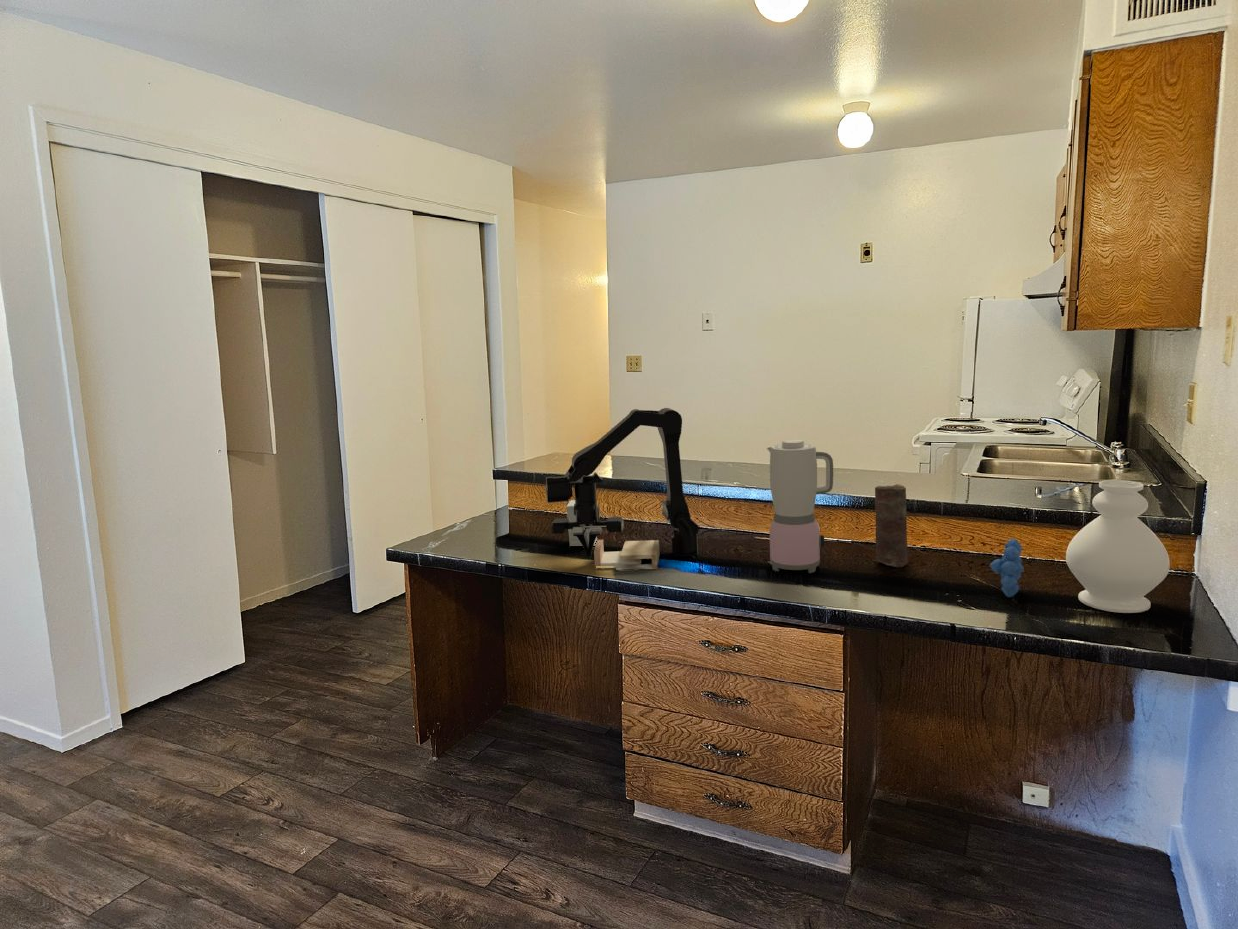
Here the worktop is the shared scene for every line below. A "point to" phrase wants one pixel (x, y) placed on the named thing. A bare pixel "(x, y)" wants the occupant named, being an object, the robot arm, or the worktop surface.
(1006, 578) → the grapes
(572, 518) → the supplement box
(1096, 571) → the decorative vase
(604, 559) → the beige blocky piece
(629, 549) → the beige open box
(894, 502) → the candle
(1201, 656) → the worktop surface
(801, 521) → the blender
